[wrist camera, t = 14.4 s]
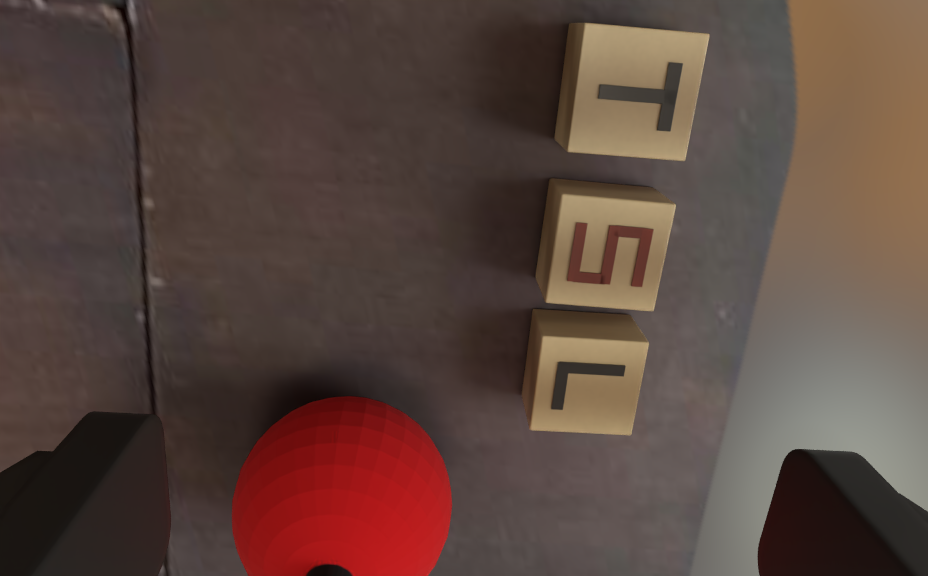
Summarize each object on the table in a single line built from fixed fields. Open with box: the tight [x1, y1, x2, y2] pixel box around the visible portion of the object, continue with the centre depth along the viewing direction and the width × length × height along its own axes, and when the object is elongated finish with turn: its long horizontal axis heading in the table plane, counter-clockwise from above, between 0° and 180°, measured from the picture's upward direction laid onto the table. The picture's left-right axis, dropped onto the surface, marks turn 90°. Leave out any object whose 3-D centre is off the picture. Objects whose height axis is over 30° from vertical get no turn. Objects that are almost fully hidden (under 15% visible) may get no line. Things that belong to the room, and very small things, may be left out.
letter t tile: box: [554, 23, 709, 161], centre depth 26 cm, size 4×4×3 cm
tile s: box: [535, 178, 676, 311], centre depth 28 cm, size 4×4×3 cm
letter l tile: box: [522, 309, 649, 435], centre depth 31 cm, size 4×4×3 cm
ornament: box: [232, 396, 452, 576], centre depth 28 cm, size 9×9×10 cm
